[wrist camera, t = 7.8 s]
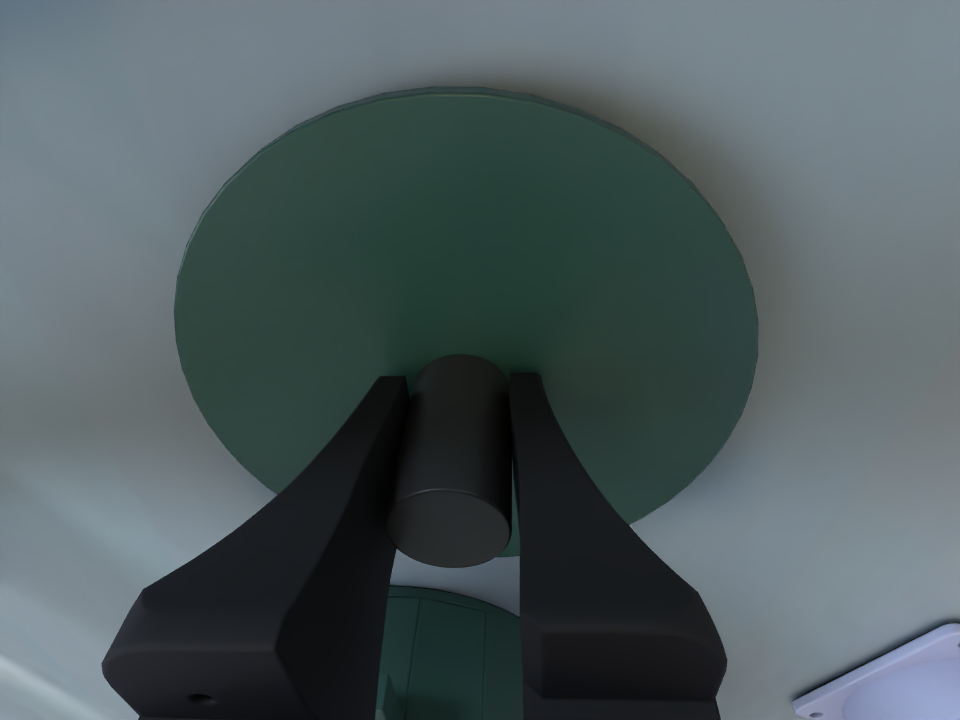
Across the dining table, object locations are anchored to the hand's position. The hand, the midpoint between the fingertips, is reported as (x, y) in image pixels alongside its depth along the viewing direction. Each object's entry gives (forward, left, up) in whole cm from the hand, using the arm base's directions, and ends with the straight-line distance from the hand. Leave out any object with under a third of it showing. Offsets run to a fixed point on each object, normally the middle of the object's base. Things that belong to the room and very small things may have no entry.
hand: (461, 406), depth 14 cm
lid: (0, 0, -1) cm, 1 cm away
